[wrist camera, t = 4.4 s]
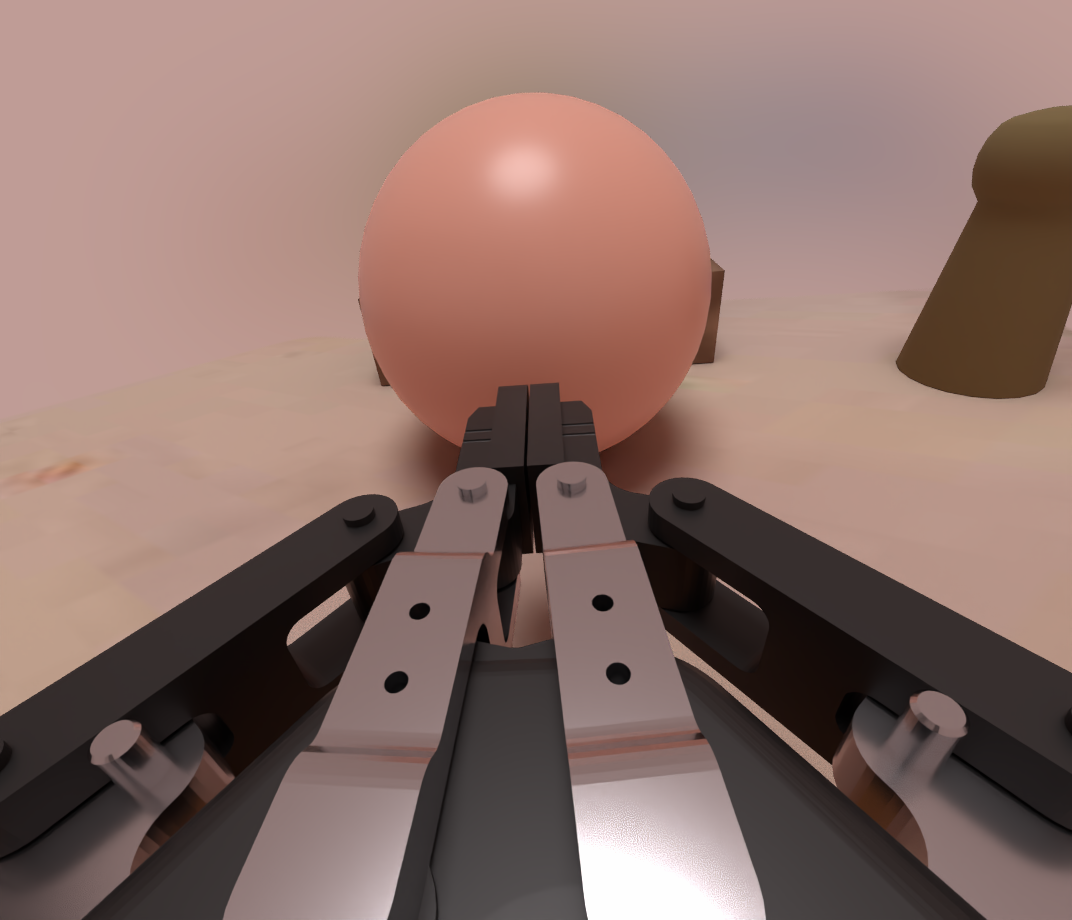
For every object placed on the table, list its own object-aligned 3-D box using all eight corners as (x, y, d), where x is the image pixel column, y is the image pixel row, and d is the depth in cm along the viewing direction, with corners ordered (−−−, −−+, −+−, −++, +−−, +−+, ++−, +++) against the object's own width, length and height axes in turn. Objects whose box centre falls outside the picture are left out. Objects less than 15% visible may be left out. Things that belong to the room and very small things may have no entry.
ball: (369, 546, 19) (214, 114, 11) (430, 386, 29) (372, 111, 22) (734, 526, 18) (821, 55, 11) (661, 369, 29) (679, 81, 21)
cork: (868, 363, 27) (945, 115, 21) (945, 338, 29) (1035, 103, 23) (993, 410, 23) (1138, 110, 17) (1074, 377, 25) (1231, 95, 18)
